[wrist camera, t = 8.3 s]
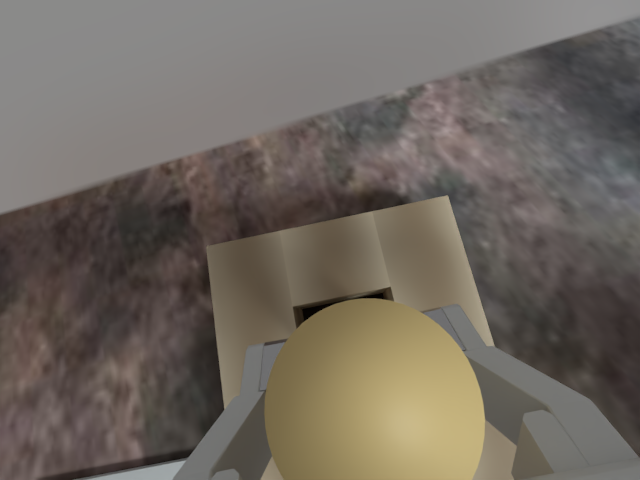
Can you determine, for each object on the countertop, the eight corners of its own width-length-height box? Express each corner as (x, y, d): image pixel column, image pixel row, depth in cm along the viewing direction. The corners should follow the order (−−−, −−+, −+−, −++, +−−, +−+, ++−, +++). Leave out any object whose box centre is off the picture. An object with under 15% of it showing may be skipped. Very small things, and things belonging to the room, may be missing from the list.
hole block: (259, 488, 17) (238, 530, 13) (230, 259, 20) (205, 246, 16) (496, 443, 17) (534, 475, 13) (430, 217, 19) (447, 195, 16)
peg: (328, 390, 15) (283, 555, 5) (315, 319, 16) (250, 320, 5) (397, 377, 15) (516, 514, 4) (381, 306, 16) (448, 280, 5)
